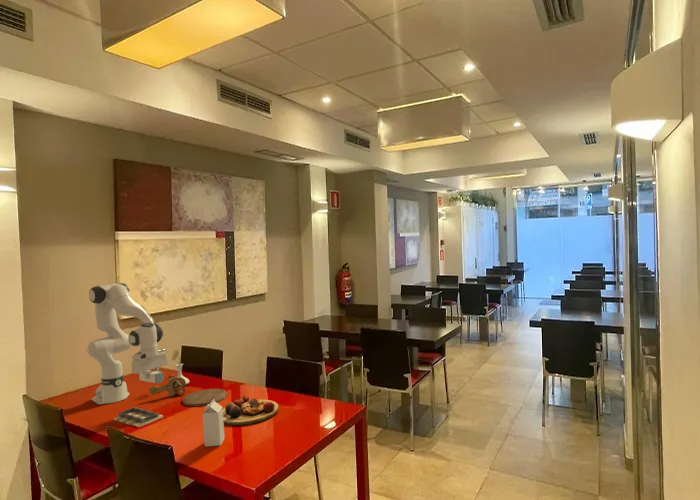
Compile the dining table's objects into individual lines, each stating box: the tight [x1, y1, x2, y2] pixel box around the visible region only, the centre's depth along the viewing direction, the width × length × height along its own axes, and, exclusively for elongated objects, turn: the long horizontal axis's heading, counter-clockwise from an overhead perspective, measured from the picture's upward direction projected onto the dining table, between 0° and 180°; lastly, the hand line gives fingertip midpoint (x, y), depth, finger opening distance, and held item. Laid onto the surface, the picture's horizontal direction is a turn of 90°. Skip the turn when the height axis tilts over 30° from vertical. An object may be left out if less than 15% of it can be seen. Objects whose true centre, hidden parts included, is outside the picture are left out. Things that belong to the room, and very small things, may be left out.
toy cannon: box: [148, 372, 187, 397], centre depth 264 cm, size 8×21×14 cm, turn 123°
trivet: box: [182, 388, 228, 408], centre depth 257 cm, size 25×25×2 cm
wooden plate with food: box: [222, 395, 280, 426], centre depth 229 cm, size 32×32×8 cm
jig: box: [113, 406, 164, 428], centre depth 231 cm, size 23×14×3 cm, turn 58°
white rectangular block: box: [138, 369, 165, 384], centre depth 241 cm, size 16×4×5 cm, turn 59°
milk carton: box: [202, 399, 225, 448], centre depth 196 cm, size 7×7×19 cm
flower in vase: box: [171, 348, 190, 386], centre depth 284 cm, size 13×11×25 cm
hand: (151, 377), depth 241 cm, fingers closed on white rectangular block, 4 cm apart
